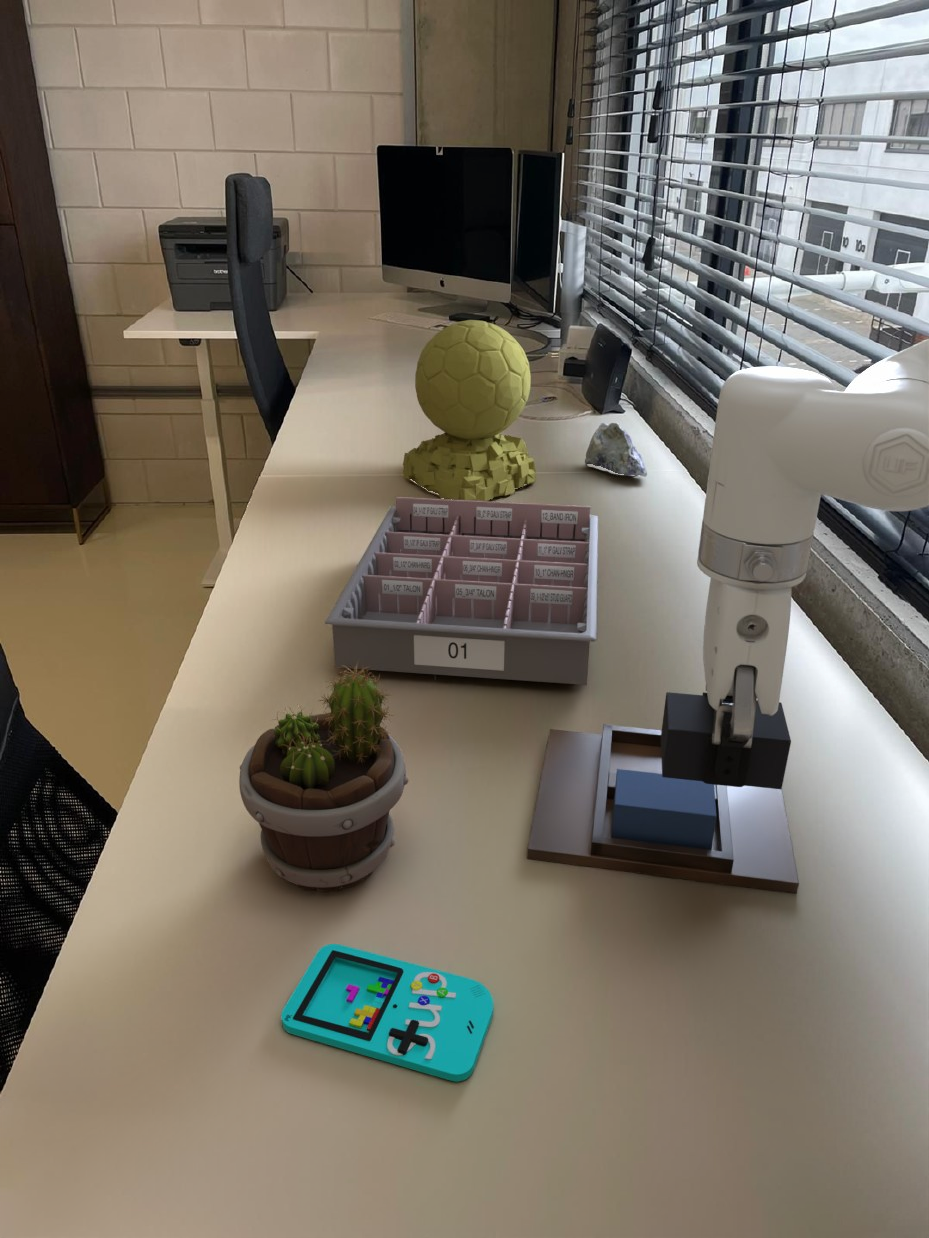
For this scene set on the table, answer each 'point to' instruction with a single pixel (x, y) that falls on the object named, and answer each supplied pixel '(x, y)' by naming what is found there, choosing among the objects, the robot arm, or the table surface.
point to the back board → (581, 835)
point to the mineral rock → (614, 451)
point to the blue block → (663, 810)
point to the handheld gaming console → (391, 1011)
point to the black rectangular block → (694, 723)
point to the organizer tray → (473, 592)
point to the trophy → (471, 413)
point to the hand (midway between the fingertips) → (720, 757)
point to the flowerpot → (327, 788)
